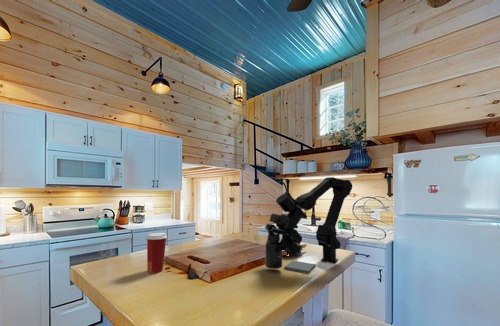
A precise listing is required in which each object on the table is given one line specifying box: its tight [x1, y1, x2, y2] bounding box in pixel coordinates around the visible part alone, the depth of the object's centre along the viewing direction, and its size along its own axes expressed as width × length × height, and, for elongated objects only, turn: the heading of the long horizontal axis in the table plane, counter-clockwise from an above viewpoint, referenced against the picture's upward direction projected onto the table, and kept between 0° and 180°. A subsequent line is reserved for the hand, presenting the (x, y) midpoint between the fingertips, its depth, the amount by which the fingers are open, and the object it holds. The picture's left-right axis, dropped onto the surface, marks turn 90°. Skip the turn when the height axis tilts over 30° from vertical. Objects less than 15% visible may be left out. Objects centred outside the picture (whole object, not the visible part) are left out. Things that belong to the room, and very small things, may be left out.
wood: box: [187, 260, 202, 281], centre depth 98 cm, size 22×7×3 cm, turn 11°
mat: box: [283, 260, 317, 275], centre depth 101 cm, size 10×10×1 cm
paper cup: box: [145, 232, 168, 274], centre depth 96 cm, size 8×8×14 cm
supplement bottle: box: [264, 234, 283, 270], centre depth 98 cm, size 7×7×12 cm
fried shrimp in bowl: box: [283, 243, 308, 257], centre depth 123 cm, size 9×11×18 cm
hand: (270, 249), depth 98 cm, fingers closed on supplement bottle, 7 cm apart
